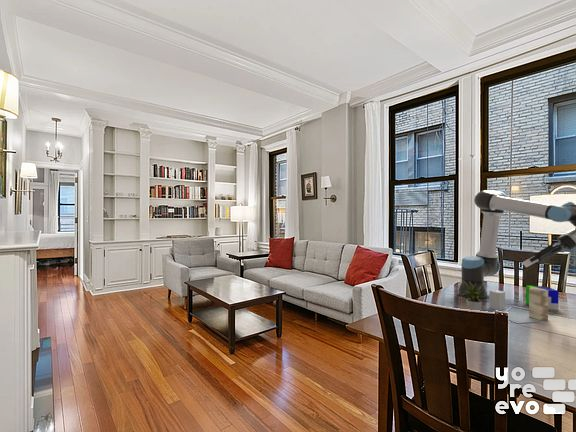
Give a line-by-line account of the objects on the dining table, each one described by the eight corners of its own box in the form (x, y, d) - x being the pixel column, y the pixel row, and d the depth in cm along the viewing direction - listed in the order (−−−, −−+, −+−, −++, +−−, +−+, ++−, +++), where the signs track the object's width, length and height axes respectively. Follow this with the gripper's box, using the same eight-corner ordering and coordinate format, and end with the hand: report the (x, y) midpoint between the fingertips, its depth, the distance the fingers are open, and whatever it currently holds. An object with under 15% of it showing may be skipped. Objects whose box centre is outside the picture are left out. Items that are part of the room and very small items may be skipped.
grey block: (489, 307, 164) (489, 290, 163) (495, 306, 166) (495, 289, 166) (499, 310, 159) (499, 293, 159) (505, 309, 161) (505, 292, 161)
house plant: (449, 309, 161) (449, 278, 161) (468, 306, 166) (468, 276, 166) (474, 317, 148) (474, 284, 147) (494, 314, 153) (494, 281, 152)
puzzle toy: (558, 310, 159) (558, 290, 159) (536, 308, 161) (536, 290, 161) (546, 304, 169) (546, 286, 169) (525, 303, 171) (525, 285, 171)
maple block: (537, 316, 150) (537, 287, 149) (548, 319, 145) (548, 290, 144) (529, 316, 149) (529, 288, 149) (539, 320, 144) (539, 290, 144)
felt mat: (521, 315, 150) (521, 315, 150) (539, 322, 142) (539, 321, 142) (500, 317, 149) (500, 316, 149) (517, 323, 140) (517, 323, 140)
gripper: (578, 241, 145) (529, 267, 152) (576, 249, 154) (530, 274, 161) (565, 229, 150) (517, 255, 157) (563, 238, 159) (519, 262, 166)
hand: (524, 264), depth 159 cm, fingers closed
